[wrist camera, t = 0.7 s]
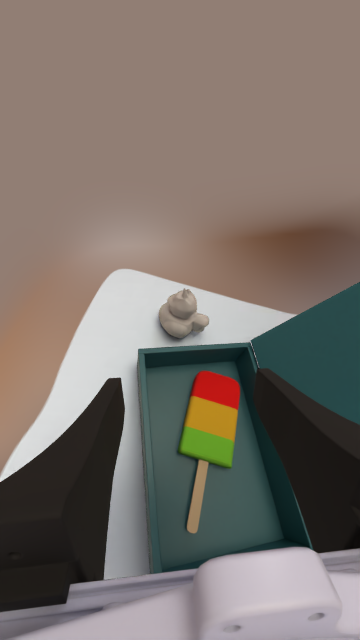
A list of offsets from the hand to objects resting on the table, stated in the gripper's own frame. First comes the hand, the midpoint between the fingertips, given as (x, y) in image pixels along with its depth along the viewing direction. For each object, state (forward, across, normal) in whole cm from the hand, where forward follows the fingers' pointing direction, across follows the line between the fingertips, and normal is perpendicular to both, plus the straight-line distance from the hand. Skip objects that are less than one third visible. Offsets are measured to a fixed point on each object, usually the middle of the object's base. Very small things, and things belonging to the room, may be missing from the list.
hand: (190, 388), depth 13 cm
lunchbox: (+9, -3, +15) cm, 17 cm away
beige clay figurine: (+21, -1, +7) cm, 22 cm away
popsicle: (+8, -3, +15) cm, 17 cm away
